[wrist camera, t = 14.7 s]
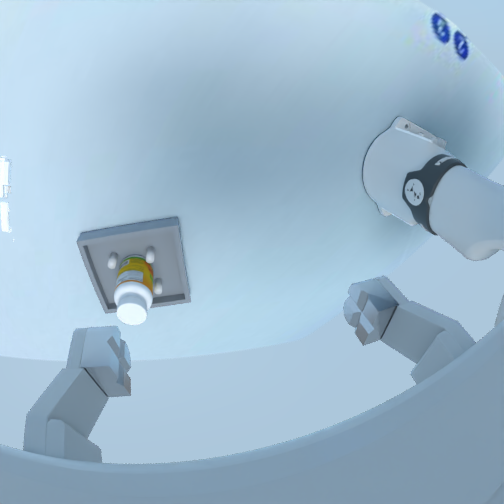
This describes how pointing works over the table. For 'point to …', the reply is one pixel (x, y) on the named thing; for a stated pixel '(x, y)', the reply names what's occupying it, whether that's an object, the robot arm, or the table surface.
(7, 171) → the syringe
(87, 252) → the pin tray
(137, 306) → the supplement bottle
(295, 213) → the table surface
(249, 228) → the table surface
